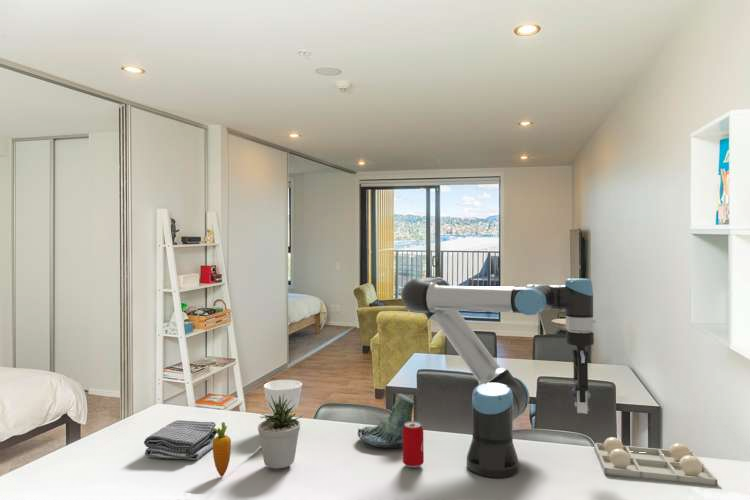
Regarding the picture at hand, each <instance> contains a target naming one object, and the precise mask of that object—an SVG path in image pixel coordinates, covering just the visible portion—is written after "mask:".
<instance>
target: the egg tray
mask: <svg viewBox="0 0 750 500" xmlns="http://www.w3.org/2000/svg"><path fill="white" fill-rule="evenodd" d="M593 450H594V452H595V455H596V457H597V459H598V462H599V465H600V467H601V469H602V472H603V475H605V476H610V477H611V476H612V477H621V478H630V479H639V480H651V481H661V482H662V481H663V482H671V483H683V484H692V485H693V484H694V485H702V486H703V485H705V486H713V487H718V478H717V477H715V476H714V475H713V473H712V472H711V471H710V470H709V468H707V466H706V465H705V464H704V462H702V461H701V460H700V459H699V457H698V456H697V455H696V454H695V453H694V452H693V451H690V454H691V456H694V457H696V458H697V459H698V460H699V461H700V462H701V465H702V471H701V473H700V474H699V475H697V476H689V475H687V474H685V473H684V472H683V471H682V470H681V468H680V465H679V462H677V461H675V460H674V459H673V458H672V457H671V455H670V452H669V450H670V449H665V448H663V449H662V448H656V447H655V448H654V447H653V448H652V447H643V446H641V447H640V446H633V445H623V450H624V451H626V452H627V453H628V455H629V457H630V464H629V466H628V467H626V468H624V469H620V468H617V467H615V466H614V465H613V464H612V463H611V461H610V454H608V453H607V452H606V450H605V448H604V443H601V442H593ZM630 451H633V452H630ZM639 452H646V453H639ZM663 454H664V455H663Z"/></svg>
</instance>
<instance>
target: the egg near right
mask: <svg viewBox="0 0 750 500" xmlns="http://www.w3.org/2000/svg"><path fill="white" fill-rule="evenodd" d="M697 458H698V457H697ZM697 458H696V457H694V456H691V455H686V456H683V457H682V458H681V459H680V462H679V465H680V468H681V470H682V471H683V472H684V473H685V474H687V475H689V476H697V475H699V474H700V473H701V471H702V465H701V462H702V461H701V460H700V459H699V458H698V459H699V460H700V461H701V462H700V461H699V460H698V459H697Z"/></svg>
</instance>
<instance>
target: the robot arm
mask: <svg viewBox="0 0 750 500" xmlns="http://www.w3.org/2000/svg"><path fill="white" fill-rule="evenodd" d="M400 296H401V301H402V304H403V306H404V307H405V308H406V309H407V310H408V311H410V312H412V313H413V314H414V313H416V314H424V315H425V317H426V318H427V320H428V321H429V322H432V323H436V324H437V326H438V327H439V328H440V330H441V332H442V333H443V334H444V335H445V337H446V339H447V340H448V341H449V342H450V344H451V345H452V347H453V348H454V349H455V351H456V353H457V354H458V355H459V357H460V358H461V359H462V361H463V363H464V364H465V365H466V366H467V368H468V370H469V371H470V372H471V373H472V375H473V376H474V377H475V379H476V381H477V382H478V385H477V386H476V387H474V389H473V390H472V397H471V405H472V407H471V411H472V412H471V414H472V415H471V416H472V417H471V419H472V420H471V421H472V423H471V424H472V428H471V429H472V438H471V443H470V445H469V448H468V451H467V455H466V466H467V468H468V469H469V470H470V471H471V472H473V473H474V474H478V475H481V476H483V477H484V476H485V477H488V478H508V477H512V476H514V475H516V474H517V473H518V472H519V470H520V461H519V457H518V454H517V451H516V448H515V445H514V442H513V441H514V440H513V439H514V438H513V437H514V436H513V427H514V426H513V422H514V421H515V420H516V419H517V418H518V417H519V416H520V415H522V414H523V413H525V411H526V409H527V407H528V405H529V402H530V392H529V389H528V386H527V385H526V384H525V383H524V381H523V380H521V379H520V378H518V377H515V376H514V375H512V374H511V372H510V370H508V368H507V367H501V366H500V365H499V364H498V362H497V361H496V359H495V358H494V357H493V356H492V354H491V353H490V352H489V350H488V349H487V347H486V346H485V345H484V343H483V342H482V341H481V340H480V338H479V337H478V336H477V334H476V333H475V330H473V329H472V328H471V326H470V325H469V323H468V322H467V320H466V319H465V318H464V317H463V315H462V314H461V313H460V311H465V312H466V311H467V312H486V313H487V312H489V313H512V314H513V313H514V314H522V315H525V316H536V315H539V314H540V313H542V312H543V311H544V312H545V311H546V310H556V311H557V310H560V311H565V329H566V332H565V341H566V344H568V345H570V346H574V347H572V350H571V353H572V361H573V380H574V381H573V383H574V384H575V381H576V380H577V385H578V388H575V391H577V402H574V407H576V412H577V414H587V415H588V413H589V412H588V411H589V410H587V405H588V400H587V391H588V388H589V376H588V375H589V371H588V370H589V369H588V366H589V364H588V362H589V352H588V351H587V349H586V347H589V346H590V347H591V346H593V345H594V343H595V341H594V339H595V338H594V332H593V330H594V324H595V323H596V319H594V290H593V282H592V281H591V279H589V278H576V277H575V278H574V277H573V278H571V277H569V278H566V279H565V281H564V284H560V285H559V284H542V283H536V284H535V283H534V284H532V283H531V284H530V283H529V284H526V285H525V286H517V287H516V286H476V285H475V286H473V285H470V286H467V285H451V284H450V283H449V282H448V281H447V280H446V279H445V278H442V277H439V276H428V277H419V278H413V279H411V280H409V281H408V282H406V283H405V284H404V286H403V287H402V290H401V295H400Z"/></svg>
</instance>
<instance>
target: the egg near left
mask: <svg viewBox="0 0 750 500" xmlns="http://www.w3.org/2000/svg"><path fill="white" fill-rule="evenodd" d="M610 461H611V463H612V464H613V465H614V466H615V467H617V468H620V469H624V468H626V467H628V466H629V464H630V457H629V455H628V453H627V452H626V451H624V450H622V449H614V450H612V451H611V453H610Z"/></svg>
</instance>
